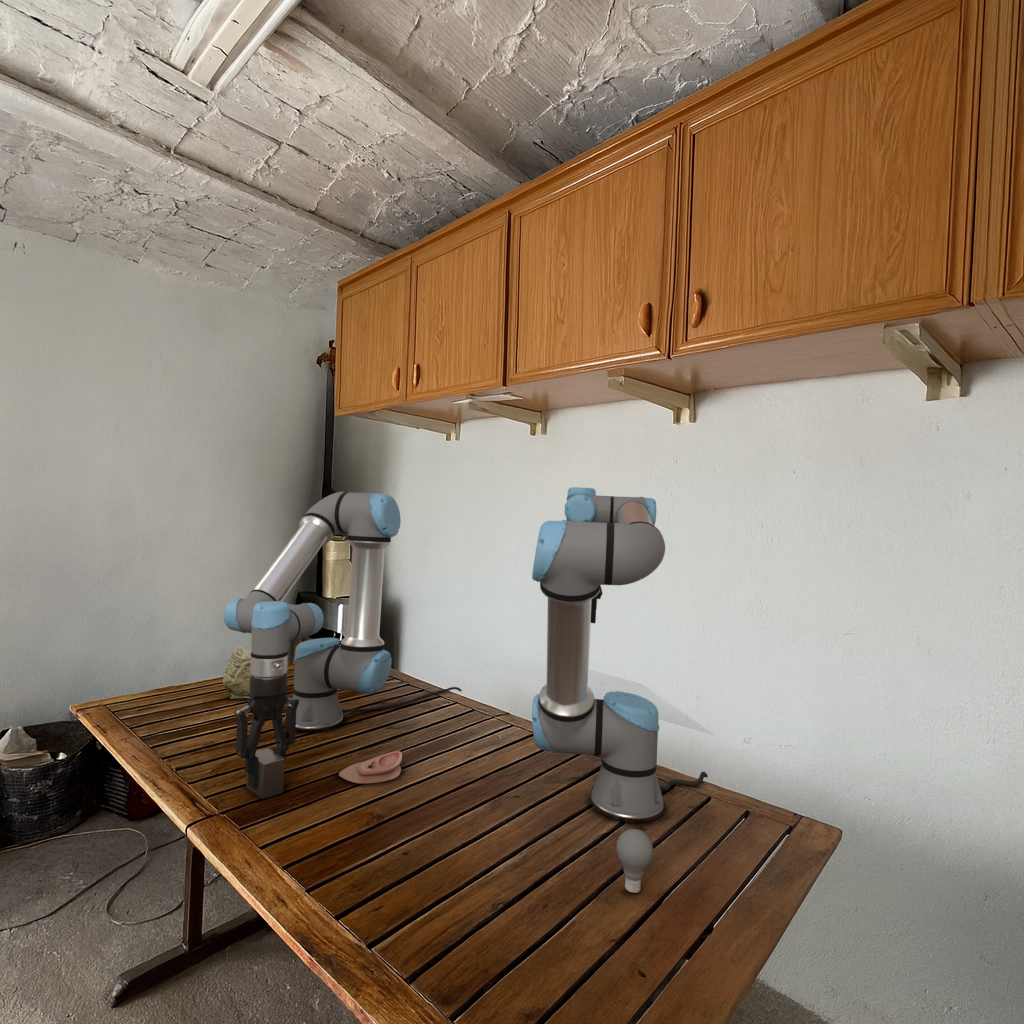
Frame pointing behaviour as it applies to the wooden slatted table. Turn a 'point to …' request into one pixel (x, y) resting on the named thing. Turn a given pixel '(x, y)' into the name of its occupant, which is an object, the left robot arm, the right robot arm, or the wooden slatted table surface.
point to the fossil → (238, 673)
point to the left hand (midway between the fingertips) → (264, 782)
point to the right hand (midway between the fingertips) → (575, 625)
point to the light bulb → (634, 857)
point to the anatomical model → (374, 769)
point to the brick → (269, 774)
